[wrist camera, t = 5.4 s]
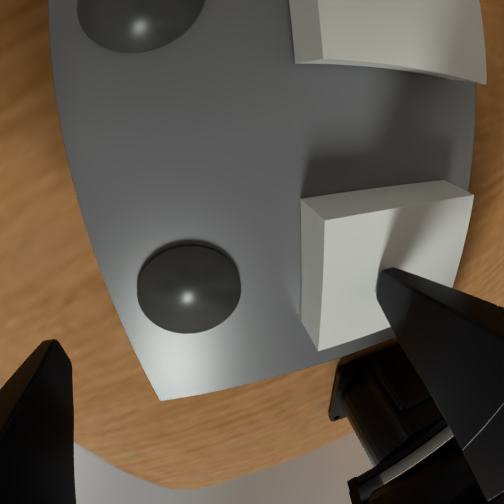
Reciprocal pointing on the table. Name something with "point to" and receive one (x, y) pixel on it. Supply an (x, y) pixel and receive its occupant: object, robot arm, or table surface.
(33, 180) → the table surface
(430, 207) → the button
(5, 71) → the table surface
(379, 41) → the middle button
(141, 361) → the control panel
